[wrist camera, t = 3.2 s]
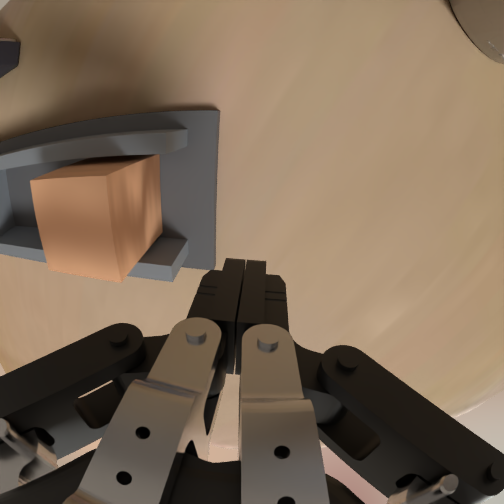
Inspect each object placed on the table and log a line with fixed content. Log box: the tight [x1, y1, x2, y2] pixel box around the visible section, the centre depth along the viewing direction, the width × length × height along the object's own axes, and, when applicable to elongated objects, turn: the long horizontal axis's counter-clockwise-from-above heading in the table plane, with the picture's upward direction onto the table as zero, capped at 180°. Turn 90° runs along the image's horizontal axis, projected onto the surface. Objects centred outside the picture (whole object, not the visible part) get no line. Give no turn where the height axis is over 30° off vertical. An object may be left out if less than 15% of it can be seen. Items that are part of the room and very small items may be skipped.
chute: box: [0, 110, 220, 282], centre depth 18 cm, size 12×26×5 cm, turn 86°
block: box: [30, 154, 163, 283], centre depth 16 cm, size 6×6×7 cm
